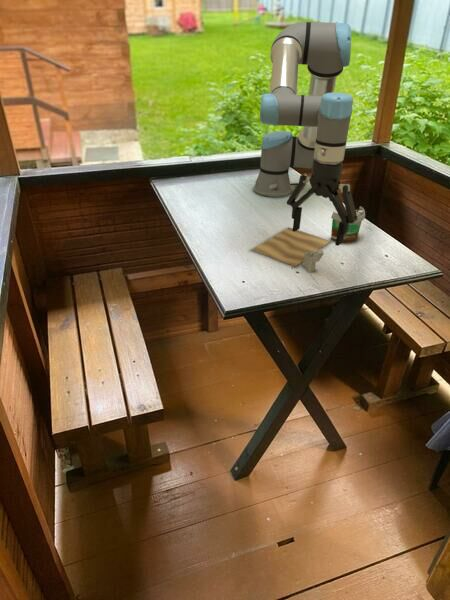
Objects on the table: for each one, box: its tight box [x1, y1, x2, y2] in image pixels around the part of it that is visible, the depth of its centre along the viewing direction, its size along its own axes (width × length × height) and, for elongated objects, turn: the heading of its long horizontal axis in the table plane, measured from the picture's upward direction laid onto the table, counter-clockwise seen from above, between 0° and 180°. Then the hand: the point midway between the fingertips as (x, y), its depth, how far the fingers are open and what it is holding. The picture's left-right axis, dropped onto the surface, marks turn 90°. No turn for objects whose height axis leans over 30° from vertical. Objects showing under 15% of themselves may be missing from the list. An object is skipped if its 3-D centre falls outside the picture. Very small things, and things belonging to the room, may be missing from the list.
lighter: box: [302, 248, 325, 273], centre depth 129 cm, size 7×2×8 cm, turn 23°
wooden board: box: [251, 227, 331, 268], centre depth 143 cm, size 22×16×1 cm
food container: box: [330, 206, 366, 244], centre depth 145 cm, size 12×6×10 cm, turn 118°
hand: (316, 236), depth 124 cm, fingers open, 13 cm apart
